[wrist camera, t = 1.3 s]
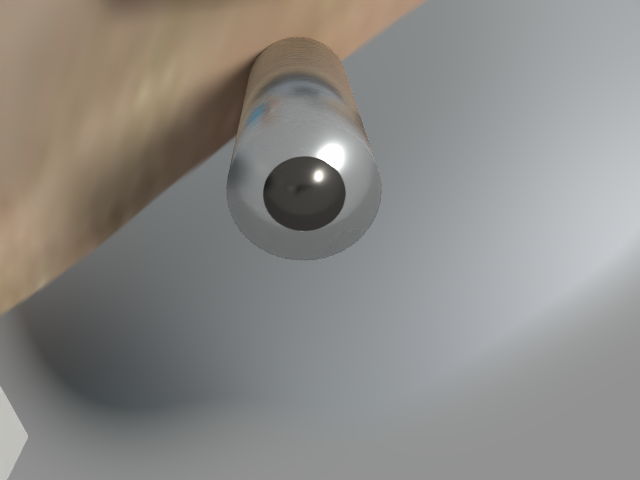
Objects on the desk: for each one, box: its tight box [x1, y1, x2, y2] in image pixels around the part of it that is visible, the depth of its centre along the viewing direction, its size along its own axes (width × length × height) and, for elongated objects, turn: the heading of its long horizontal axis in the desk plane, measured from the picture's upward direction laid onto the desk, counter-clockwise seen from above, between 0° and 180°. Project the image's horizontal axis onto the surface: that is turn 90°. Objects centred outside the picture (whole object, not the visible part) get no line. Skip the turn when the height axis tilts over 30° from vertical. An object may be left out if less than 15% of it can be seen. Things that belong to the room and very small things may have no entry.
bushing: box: [227, 37, 382, 260], centre depth 22 cm, size 4×4×11 cm
